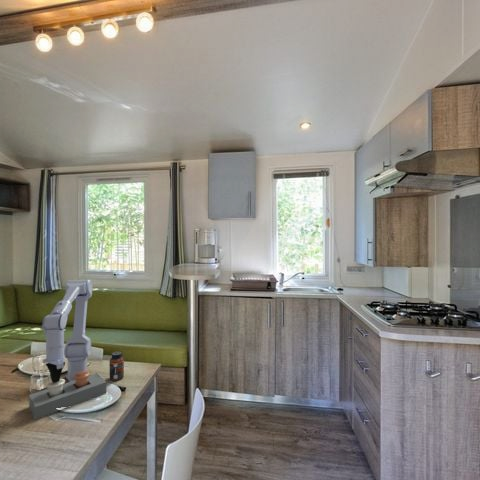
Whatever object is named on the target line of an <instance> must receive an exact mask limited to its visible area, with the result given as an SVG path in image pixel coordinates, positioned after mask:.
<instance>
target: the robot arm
mask: <svg viewBox="0 0 480 480" xmlns="http://www.w3.org/2000/svg"><path fill="white" fill-rule="evenodd" d="M93 286H94V285H93V282H92V280H91V279H75V280H74V279H72V280H71V279H68V280H67V281H66V283H65V286H64V291H65V294H63V298H62V299H61V300H60V301H57V303H56V304H55V306H54V308H52V311H51V312H50V314H48V315H45V316H44V318H43V320H42V324H41V328H42V329H43V334H44V336H45V347H46V348H45V350H46V351H45V352H46V353H45V357H46V358H44V359H42V363H43V364H45V366H46V367H47V369H48V371H49V375H50V379H51V380H50V381H52V382H53V383H55V382H58V381H59V380H60V379H61V376H62V372H63V369H64V367H65V365H66V362H65V359H67V360H66V361H67V374H65V378H66V379H67V380H68V382H71V381H74V380H75V379H73V375H74V374H76V373H78V372H81V371H88V357H90V355H91V353H92V339H91V338H90V337H88V336H87V335H86V326H87V325H86V324H87V323H86V322H87V311H88V302H89V299H91V298H92V295H93ZM74 301H75V306H74V307H75V308H74V318H73V329H72V336H71V337H70V338H69V339H67V340H66V343H65V331H64V330H65V328H66V326H67V323H68V318H69V317H68V316H69V315H70V312H71V310H72V309H73V304H72V303H73V302H74Z"/></svg>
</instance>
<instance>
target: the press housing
mask: <svg viewBox="0 0 480 480" xmlns="http://www.w3.org/2000/svg"><path fill="white" fill-rule="evenodd" d="M104 394H105V395H106V394H107V381H106V380H104V378H103V377H101V376H100V374H98V373H97V372H96V373H93V374H90V375H89V376H88V385H86V386H84V387H81V388H76V380H74V381H71V382H70V381H68V382H65V383H64V384H63V393H62V394H60V395H57V396H54V397H49V388H47V389H44V390H41V391H40V390H39V391H38V392H34V393H31V394H29V395H28V400H29V401H28V403H29V405H28V407H29V409H30V411H31V413H32V416H33V418H34V420H35V421H36V420H39V419H43V418H44V417H47V416H49V415H52V414H55V413H57V412H59V411H58V410H57V409H56V408H61V407H68V408H70V407H69V406H71V407H73V406H76V405H79V404H81V403H84V402H86V401H87V402H88V401H89V400H92V399H95V398H97V397H100V396H102V395H104Z"/></svg>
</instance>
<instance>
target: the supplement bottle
mask: <svg viewBox="0 0 480 480" xmlns="http://www.w3.org/2000/svg"><path fill="white" fill-rule="evenodd" d="M124 359H125V358H124V357H123V356H122V352H121V351H115V352H112V353H111V358H109V380H110V381H113V382H116V381H120V380H122V379H123V378H124V377H125V376H124V375H125V361H124Z"/></svg>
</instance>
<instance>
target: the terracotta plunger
mask: <svg viewBox="0 0 480 480" xmlns="http://www.w3.org/2000/svg"><path fill="white" fill-rule="evenodd" d="M89 375H91V371H89V370H87V371H81V372H78V373H76V374H74V375H73V379H75V380H76V388H81V387H84V386H86V385H88V376H89Z"/></svg>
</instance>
